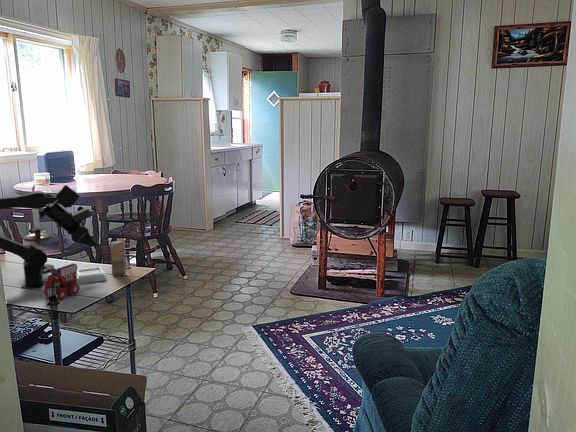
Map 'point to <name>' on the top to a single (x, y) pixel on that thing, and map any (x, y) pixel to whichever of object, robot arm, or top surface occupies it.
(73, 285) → the toy fire truck
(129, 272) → the top surface
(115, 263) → the walnut pillar
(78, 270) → the base plate
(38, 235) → the candlestick
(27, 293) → the top surface
